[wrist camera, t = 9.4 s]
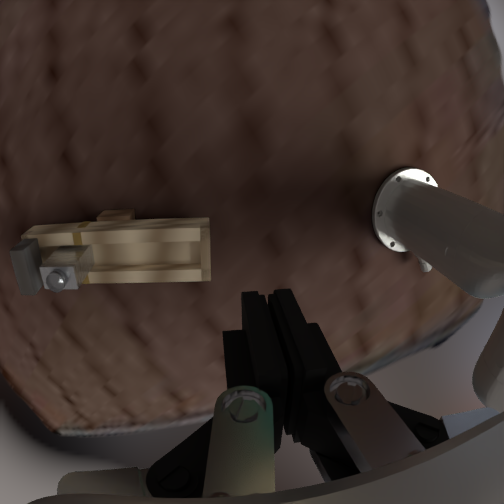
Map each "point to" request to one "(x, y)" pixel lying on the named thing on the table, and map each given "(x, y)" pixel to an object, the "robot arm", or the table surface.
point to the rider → (67, 267)
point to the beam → (120, 249)
